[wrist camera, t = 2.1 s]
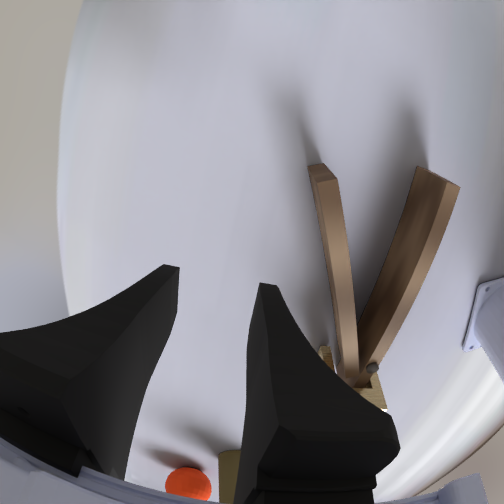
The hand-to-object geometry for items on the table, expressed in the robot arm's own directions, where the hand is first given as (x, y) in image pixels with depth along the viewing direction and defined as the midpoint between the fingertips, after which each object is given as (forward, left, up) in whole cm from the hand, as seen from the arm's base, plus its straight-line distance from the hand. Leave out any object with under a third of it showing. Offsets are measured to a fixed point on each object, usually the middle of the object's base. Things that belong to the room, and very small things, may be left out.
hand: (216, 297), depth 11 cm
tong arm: (-5, +5, -9) cm, 12 cm away
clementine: (+17, +38, -10) cm, 43 cm away
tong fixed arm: (-9, +7, -9) cm, 15 cm away
